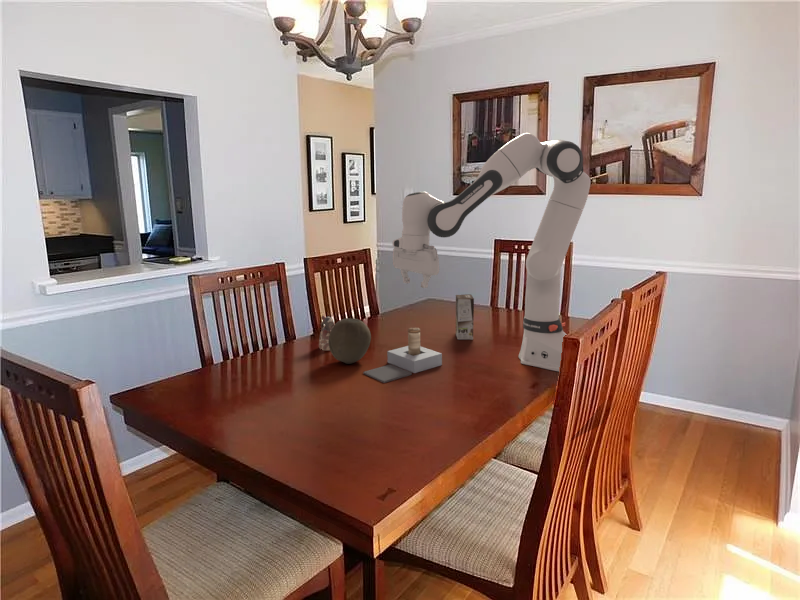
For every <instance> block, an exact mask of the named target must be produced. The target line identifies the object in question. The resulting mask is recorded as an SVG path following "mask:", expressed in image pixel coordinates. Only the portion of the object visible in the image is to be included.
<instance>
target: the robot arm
mask: <svg viewBox="0 0 800 600" xmlns="http://www.w3.org/2000/svg"><path fill="white" fill-rule="evenodd" d="M583 164H584V155H583V151H582V149H581V148H580V146H578V145H577V144H575V142H572V141H568V140H564V139H554V140H552V139H550V140H544V141H540V140H539V138H538V137H537V136H536V135H534V134H532V133H529V132H525V133H521V134H520V135H518V136H516V137H515V138H513V139H510V141H508V142H507V143H505V144H504V145H503V146H502V147H500V148H499V149H497V151H495V152H494V153H493V154H492V155H491V156H490V157H489V158H488V159H487V160H486V161H485V162H484V164H483V165H482V167H481V169H480V172H479V173H478V175H477V177H476V178H475V180H474V181H473V182H472V183H471V184H470V185H468V187H466V188H465V189H464V190H463V191H462V192H461V193H459V194H458V195H456V196H455V198H453V199H451V200H449V201H447V202H446V201H443V200H440V199H438V198H436V197H434V196H433V195H432V194H429V192H427V191H418V192H412V193H409V194H407V195H406V196H405V197H404V198H403V202H402V208H401V209H402V211H401V222H402V231H401V237H398V238H396V239H394V240H393V241H392V247H393V250H392V264H393V267H394V268H395V269H398V270H400V274H401V277H402V283H403V284H406V285H407V284H410V283H411V278H410V277H409V275H408V273H409V272H412V273H415V274H421V275H422V278H423V280H422V281H421V282H420V288H423V289H428V287H429V281H430V280H431V277H432V276H437V275H438V274H439V272H440V260H439V254H438V250H437V249H436V247H435V246H434V245H432V244H431V245H430V234H431V233H432V234H433V235H435V236H437V237H439V238H450V237H452V236H454V235H455V234H456V233H458V231H459V229H460V228H461V226H462V224H463V223H464V220H465V219H466V218H467V216H469V214H471V213H472V212H473V211H474V210H476V208H478V207H479V206H480V205H481V204H482V203H484V202H485V201H486V200H487V199H488V198H490V197H491V196H493V195H495V194H498V193H499V192H501V191H503V190H505V189H506V188H508V187H511V186H512V185H513V184H514V183H516V182H517V181H518V180H519V179H521V178H523V176H525V175H526V173H528V172H530V171H531V170H534V169H535V170H537V171H538V172H540V173H541V174H544V175H546V176H549V177H553V181H554V182H553V189H552V192H551V194H550V197H549V199H548V202H547V204H546V207H545V209H544V212H543V215H542V217H541V220H540V223H539V225H538V228H537V230H536V233H535V236H534V239H533V240H532V244H531V245H530V249H529V251H528V254H527V256H526V260H525V267H526V283H525V285H526V286H525V287H526V288H525V300H524V301H525V303H524V304H525V305H524V317H523V320H522V321H523V322H522V327H523V336H522V343H521V346H520V351H519V354H518V358H519V360H520V364H523V365H526V366H533V367H536V368H541V369H545V370H550V371H554V372H559V367H560V361H561V353H562V342H563V337H564V336H565V335H568V334H567V333H566V332H565V331H564V329H563V327H565V326H566V322H561V319H560V316H559V315H560V314H559V313H560V295H561V273H562V272H561V271H562V266H563V263H564V261H565V258H566V255H567V253H568V250H569V247H570V244H571V242H572V239H573V236H574V234H575V231H576V228H577V226H578V223H579V221H580V219H581V216H582V214H583V211H584V208H585V207H586V206H585V205H586V203H587V200H588V196H589V193H590V188H591V183H592V182H591V177H590V176H589V175H588V174H587V173H586V172H585V171H584V165H583ZM430 232H431V233H430Z"/></svg>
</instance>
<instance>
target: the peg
mask: <svg viewBox="0 0 800 600" xmlns="http://www.w3.org/2000/svg"><path fill="white" fill-rule="evenodd" d="M407 343H408V344H407V346H408V354H410V355H412V356H415V355H419V354H420V346H421V328H419V327H409V328H407Z"/></svg>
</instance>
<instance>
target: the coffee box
mask: <svg viewBox="0 0 800 600" xmlns="http://www.w3.org/2000/svg"><path fill="white" fill-rule="evenodd" d="M474 302H475V298H474V297H473V295H472V294H466V293H465V294H456V295H455V336H456V339H457V340H474V314H475V313H474V312H475V308H474V307H475V303H474Z"/></svg>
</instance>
